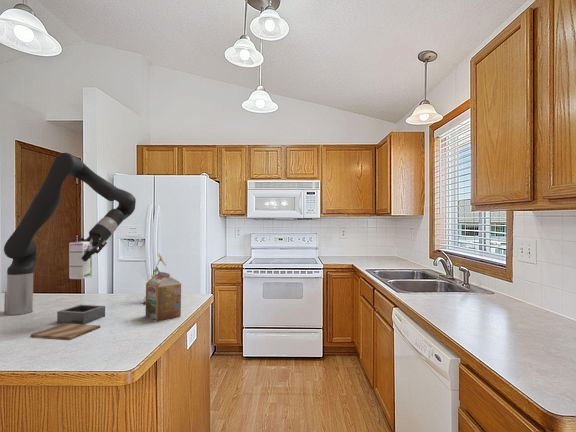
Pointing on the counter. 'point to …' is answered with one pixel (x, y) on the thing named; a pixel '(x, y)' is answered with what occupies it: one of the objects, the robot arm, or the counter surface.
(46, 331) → the walnut mat
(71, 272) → the syrup box
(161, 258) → the flower in vase
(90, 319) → the square socket
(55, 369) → the counter surface
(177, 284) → the milk carton
